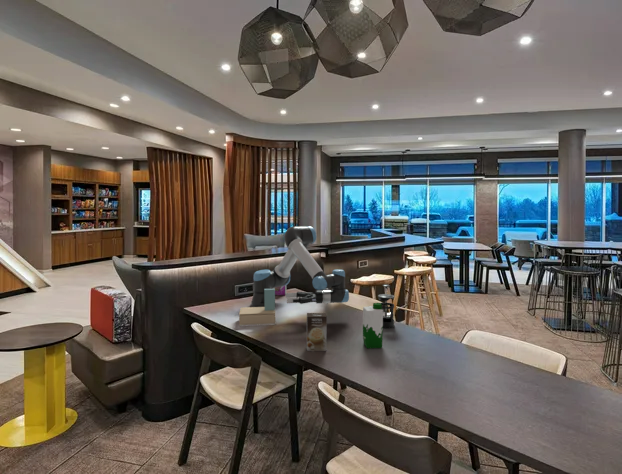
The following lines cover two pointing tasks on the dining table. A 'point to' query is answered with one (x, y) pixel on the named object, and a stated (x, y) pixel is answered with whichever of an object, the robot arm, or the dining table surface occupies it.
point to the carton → (256, 319)
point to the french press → (388, 319)
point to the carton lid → (268, 309)
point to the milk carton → (373, 326)
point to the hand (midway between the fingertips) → (286, 297)
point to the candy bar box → (280, 290)
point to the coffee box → (316, 331)
